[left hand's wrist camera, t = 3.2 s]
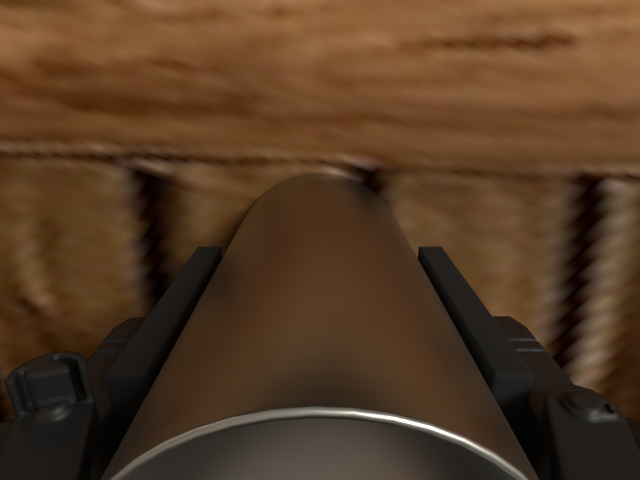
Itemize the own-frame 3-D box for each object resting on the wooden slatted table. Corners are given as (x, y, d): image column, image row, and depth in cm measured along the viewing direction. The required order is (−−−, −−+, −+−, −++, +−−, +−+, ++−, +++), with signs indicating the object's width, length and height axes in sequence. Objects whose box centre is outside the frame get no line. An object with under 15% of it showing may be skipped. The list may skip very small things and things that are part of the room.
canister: (299, 137, 15) (241, 300, 4) (437, 238, 16) (686, 572, 5) (206, 271, 17) (-14, 640, 6) (336, 351, 18) (361, 773, 7)
